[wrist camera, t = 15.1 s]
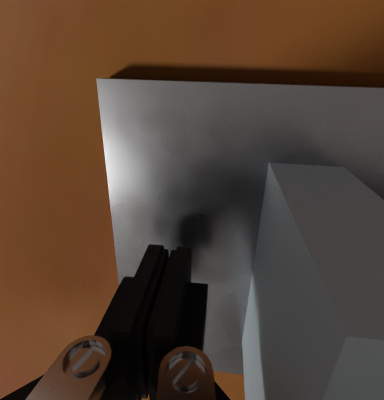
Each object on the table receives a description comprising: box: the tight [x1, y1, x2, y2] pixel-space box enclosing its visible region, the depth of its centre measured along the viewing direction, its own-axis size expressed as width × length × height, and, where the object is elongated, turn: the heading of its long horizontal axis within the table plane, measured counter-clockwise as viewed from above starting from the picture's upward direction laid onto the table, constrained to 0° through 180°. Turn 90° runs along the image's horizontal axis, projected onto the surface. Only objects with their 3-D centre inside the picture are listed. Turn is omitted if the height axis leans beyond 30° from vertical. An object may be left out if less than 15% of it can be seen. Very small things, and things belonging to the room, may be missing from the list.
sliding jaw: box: [242, 163, 384, 400], centre depth 8 cm, size 9×2×7 cm, turn 178°
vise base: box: [96, 78, 384, 375], centre depth 9 cm, size 14×19×8 cm
